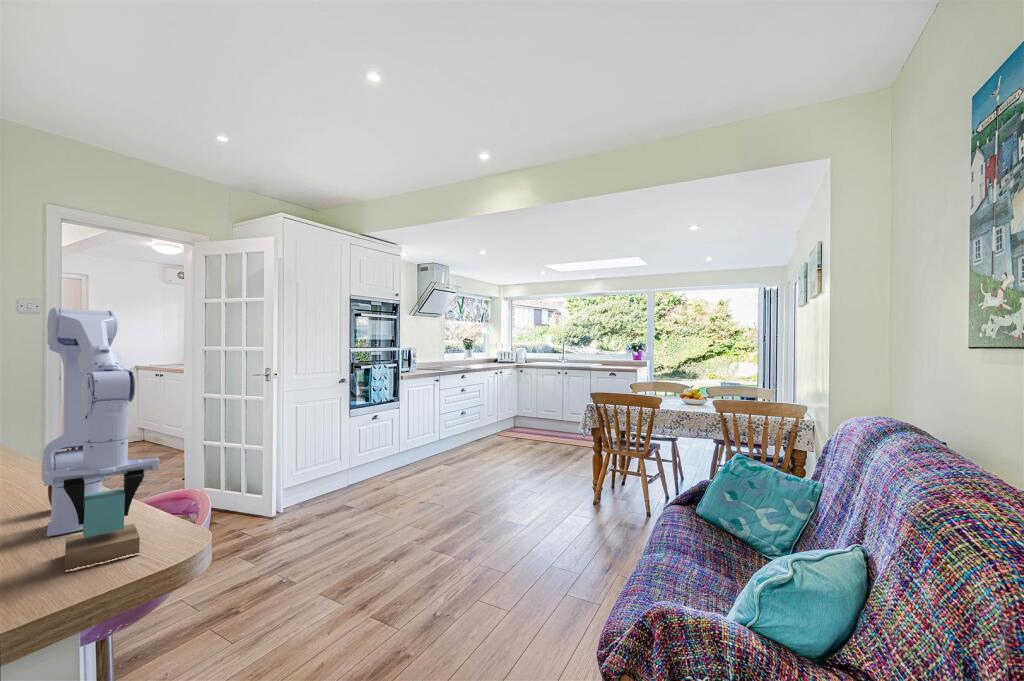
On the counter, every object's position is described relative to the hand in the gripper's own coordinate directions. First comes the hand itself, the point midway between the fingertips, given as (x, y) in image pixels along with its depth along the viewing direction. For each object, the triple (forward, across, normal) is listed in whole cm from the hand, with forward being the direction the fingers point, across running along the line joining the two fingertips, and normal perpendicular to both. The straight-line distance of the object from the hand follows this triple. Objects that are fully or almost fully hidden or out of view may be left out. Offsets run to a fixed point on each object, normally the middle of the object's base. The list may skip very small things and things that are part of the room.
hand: (103, 518), depth 76 cm
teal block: (+2, 0, 0) cm, 2 cm away
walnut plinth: (+6, 0, 0) cm, 6 cm away
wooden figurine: (+6, -4, +37) cm, 38 cm away
